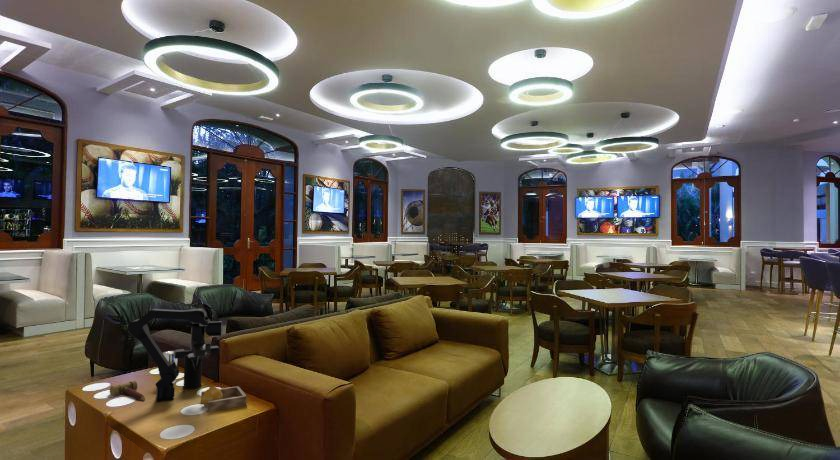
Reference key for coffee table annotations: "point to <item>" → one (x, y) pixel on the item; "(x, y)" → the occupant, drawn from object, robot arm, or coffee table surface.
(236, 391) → the tray
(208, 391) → the fruit
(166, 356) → the beer glass
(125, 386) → the gavel
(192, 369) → the aerosol can
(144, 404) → the coffee table surface
